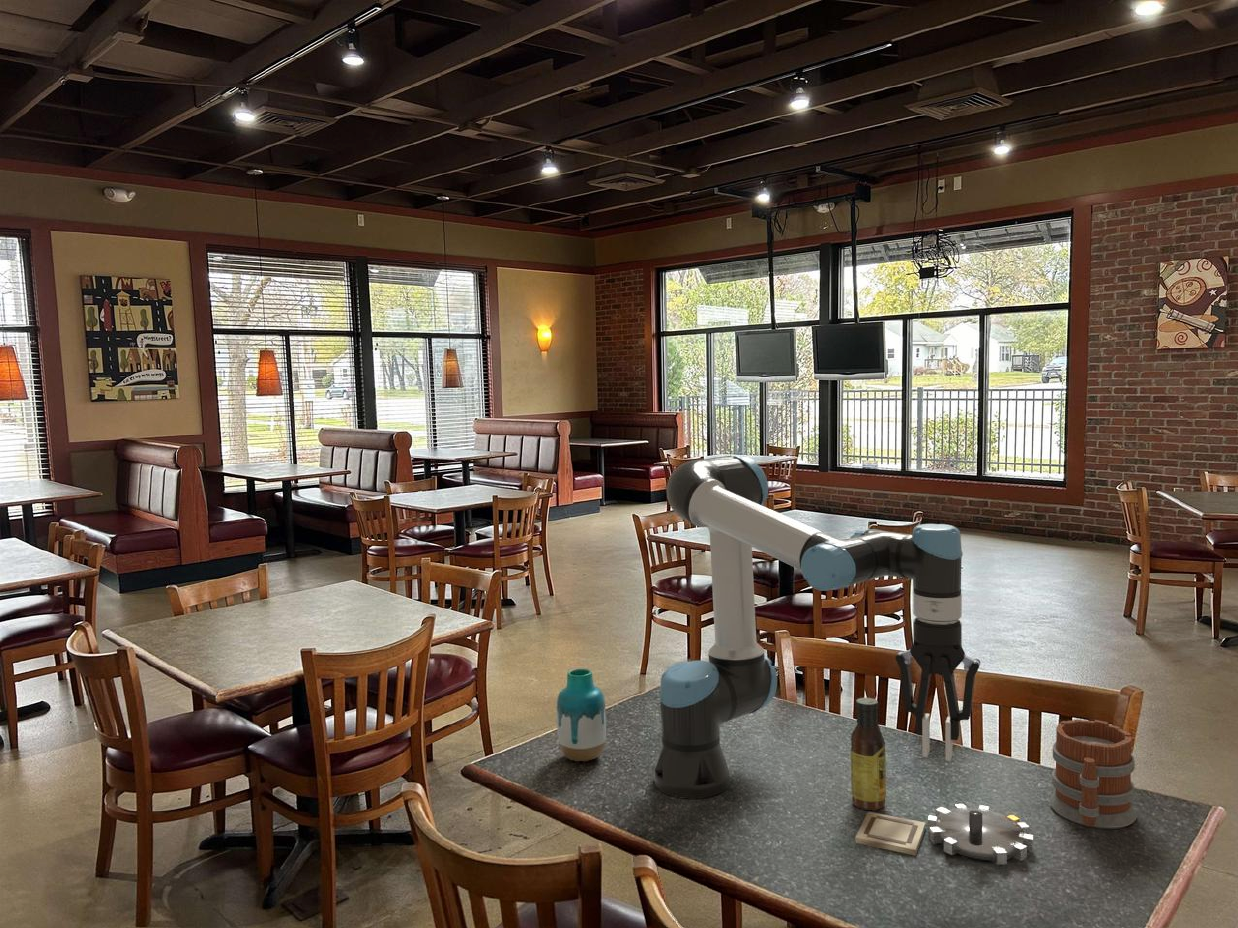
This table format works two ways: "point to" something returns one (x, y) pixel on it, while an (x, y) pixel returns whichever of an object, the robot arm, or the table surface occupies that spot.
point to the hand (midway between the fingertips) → (937, 755)
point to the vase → (581, 717)
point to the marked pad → (891, 833)
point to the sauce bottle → (868, 758)
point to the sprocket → (980, 833)
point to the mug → (1093, 774)
